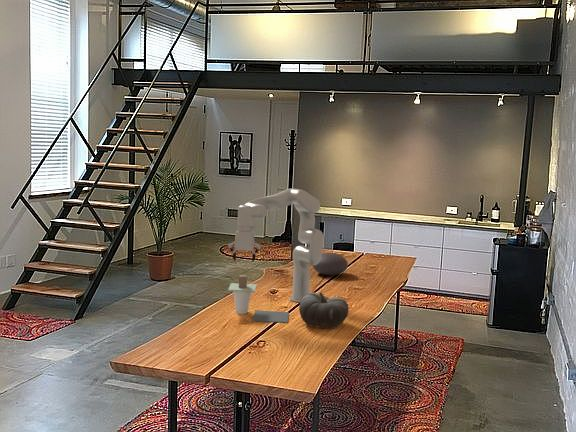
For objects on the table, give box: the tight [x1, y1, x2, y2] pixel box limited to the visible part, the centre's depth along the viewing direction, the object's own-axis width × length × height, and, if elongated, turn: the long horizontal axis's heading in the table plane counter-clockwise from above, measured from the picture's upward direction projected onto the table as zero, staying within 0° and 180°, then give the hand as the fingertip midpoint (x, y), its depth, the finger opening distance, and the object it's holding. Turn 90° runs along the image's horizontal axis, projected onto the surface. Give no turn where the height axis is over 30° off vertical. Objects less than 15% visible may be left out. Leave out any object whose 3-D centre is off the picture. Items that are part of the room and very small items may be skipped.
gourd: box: [298, 291, 349, 329], centre depth 322 cm, size 25×25×17 cm
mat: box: [251, 310, 290, 324], centre depth 331 cm, size 18×18×1 cm
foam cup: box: [232, 291, 252, 315], centre depth 337 cm, size 10×9×13 cm
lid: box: [227, 274, 258, 293], centre depth 335 cm, size 14×14×7 cm
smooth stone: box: [311, 252, 349, 276], centre depth 434 cm, size 25×25×15 cm
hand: (244, 260), depth 334 cm, fingers open, 9 cm apart
